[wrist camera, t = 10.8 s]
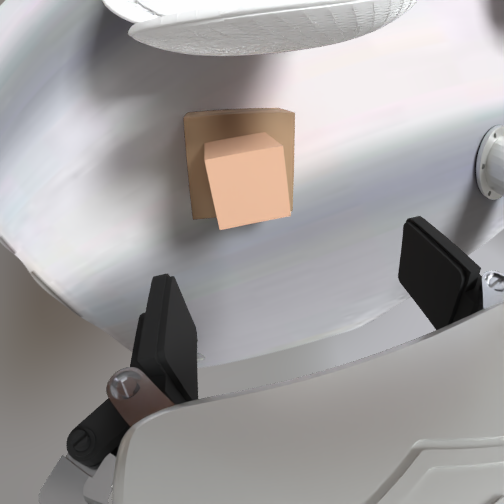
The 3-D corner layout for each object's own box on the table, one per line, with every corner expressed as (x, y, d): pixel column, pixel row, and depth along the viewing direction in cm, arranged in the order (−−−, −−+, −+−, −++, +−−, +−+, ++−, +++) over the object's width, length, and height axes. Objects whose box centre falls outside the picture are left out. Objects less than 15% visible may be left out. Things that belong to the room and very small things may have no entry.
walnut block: (277, 107, 28) (294, 112, 23) (277, 189, 32) (292, 211, 27) (187, 112, 27) (183, 117, 22) (194, 196, 31) (192, 219, 26)
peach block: (265, 132, 23) (283, 146, 18) (272, 187, 26) (290, 215, 21) (204, 143, 23) (204, 160, 18) (215, 198, 26) (219, 230, 21)
